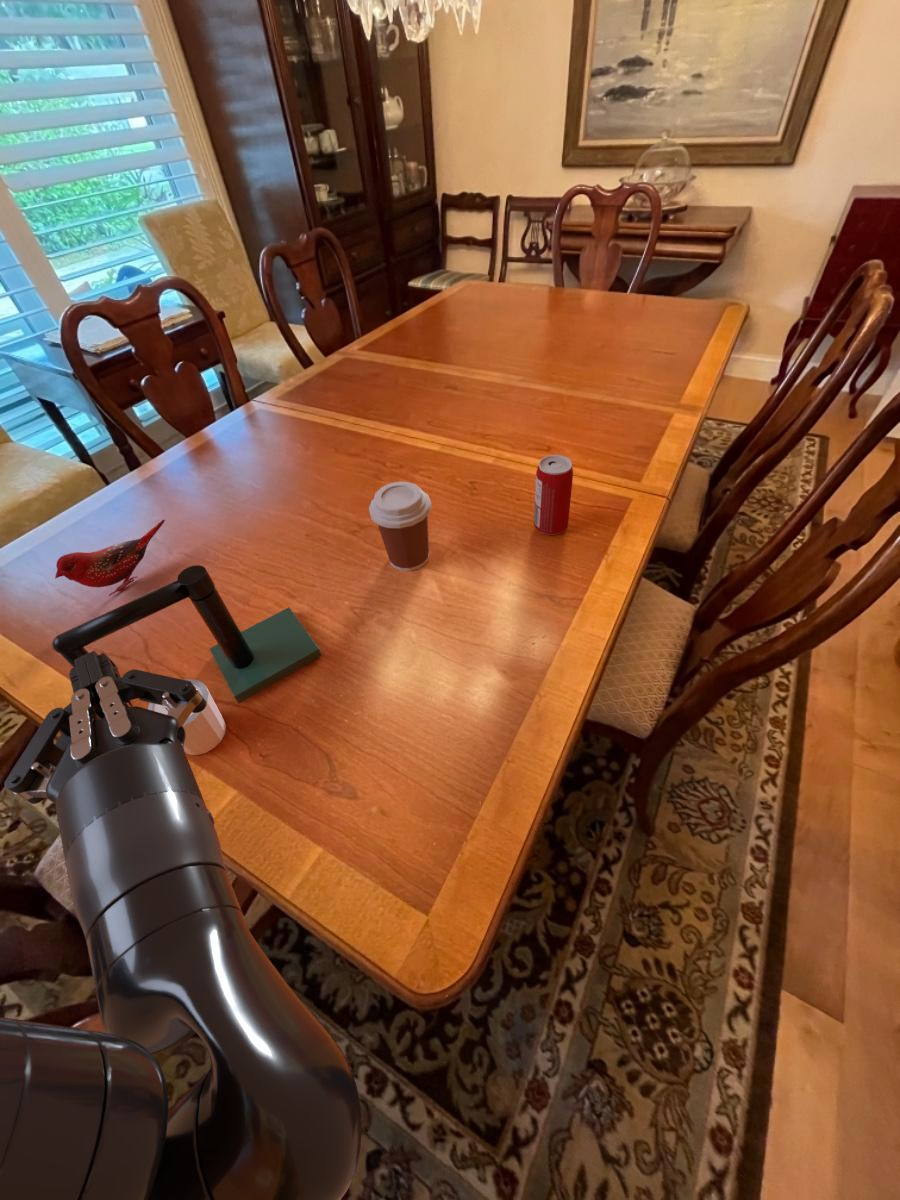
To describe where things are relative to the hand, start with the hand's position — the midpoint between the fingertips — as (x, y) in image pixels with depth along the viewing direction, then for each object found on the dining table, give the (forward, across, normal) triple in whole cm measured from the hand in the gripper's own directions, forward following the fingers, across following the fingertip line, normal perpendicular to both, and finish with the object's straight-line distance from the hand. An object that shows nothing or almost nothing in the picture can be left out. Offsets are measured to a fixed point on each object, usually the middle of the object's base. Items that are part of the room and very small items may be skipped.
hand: (90, 661), depth 42 cm
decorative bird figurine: (+44, -1, +25) cm, 51 cm away
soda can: (+10, -60, +25) cm, 66 cm away
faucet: (+15, -12, +25) cm, 32 cm away
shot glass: (+9, -1, +25) cm, 26 cm away
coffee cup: (+19, -38, +25) cm, 50 cm away
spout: (+15, -3, +11) cm, 19 cm away
